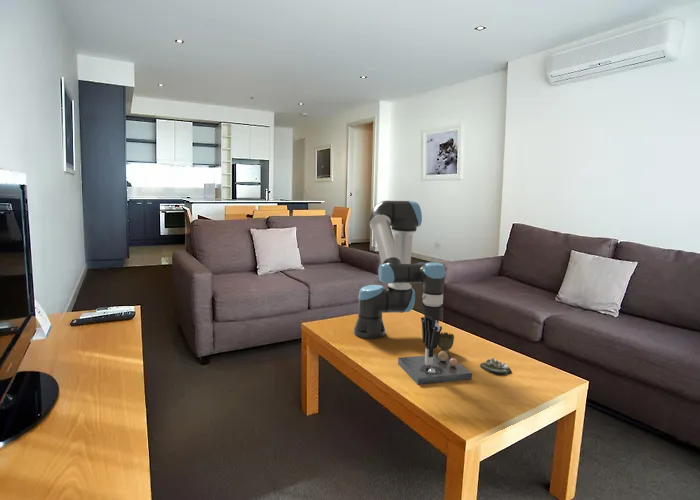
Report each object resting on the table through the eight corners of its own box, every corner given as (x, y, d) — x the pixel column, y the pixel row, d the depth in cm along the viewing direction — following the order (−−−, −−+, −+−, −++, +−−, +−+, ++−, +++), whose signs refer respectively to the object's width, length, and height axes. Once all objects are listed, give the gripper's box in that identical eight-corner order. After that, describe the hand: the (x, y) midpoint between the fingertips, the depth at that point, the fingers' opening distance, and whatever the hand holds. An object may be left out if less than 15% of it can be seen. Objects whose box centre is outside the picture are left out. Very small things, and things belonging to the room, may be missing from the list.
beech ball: (435, 359, 170) (436, 349, 170) (444, 358, 171) (445, 349, 171) (440, 363, 166) (441, 353, 166) (449, 362, 167) (450, 352, 167)
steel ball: (425, 373, 161) (426, 366, 160) (433, 373, 162) (434, 365, 161) (428, 379, 158) (430, 372, 157) (437, 378, 159) (438, 371, 158)
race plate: (397, 363, 171) (398, 357, 170) (446, 359, 177) (447, 353, 176) (417, 384, 153) (418, 378, 152) (471, 379, 159) (472, 373, 158)
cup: (453, 356, 180) (454, 338, 179) (435, 354, 182) (437, 336, 181) (452, 349, 188) (454, 332, 187) (436, 348, 189) (437, 331, 188)
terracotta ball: (447, 364, 165) (447, 357, 165) (454, 364, 166) (455, 356, 165) (451, 368, 162) (452, 360, 162) (458, 367, 163) (459, 359, 162)
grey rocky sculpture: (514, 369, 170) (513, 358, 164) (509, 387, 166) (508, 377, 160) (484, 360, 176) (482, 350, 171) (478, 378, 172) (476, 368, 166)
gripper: (415, 299, 164) (412, 357, 167) (431, 309, 151) (427, 371, 155) (433, 299, 166) (429, 356, 169) (449, 308, 153) (445, 369, 157)
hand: (428, 363), depth 162 cm, fingers closed
